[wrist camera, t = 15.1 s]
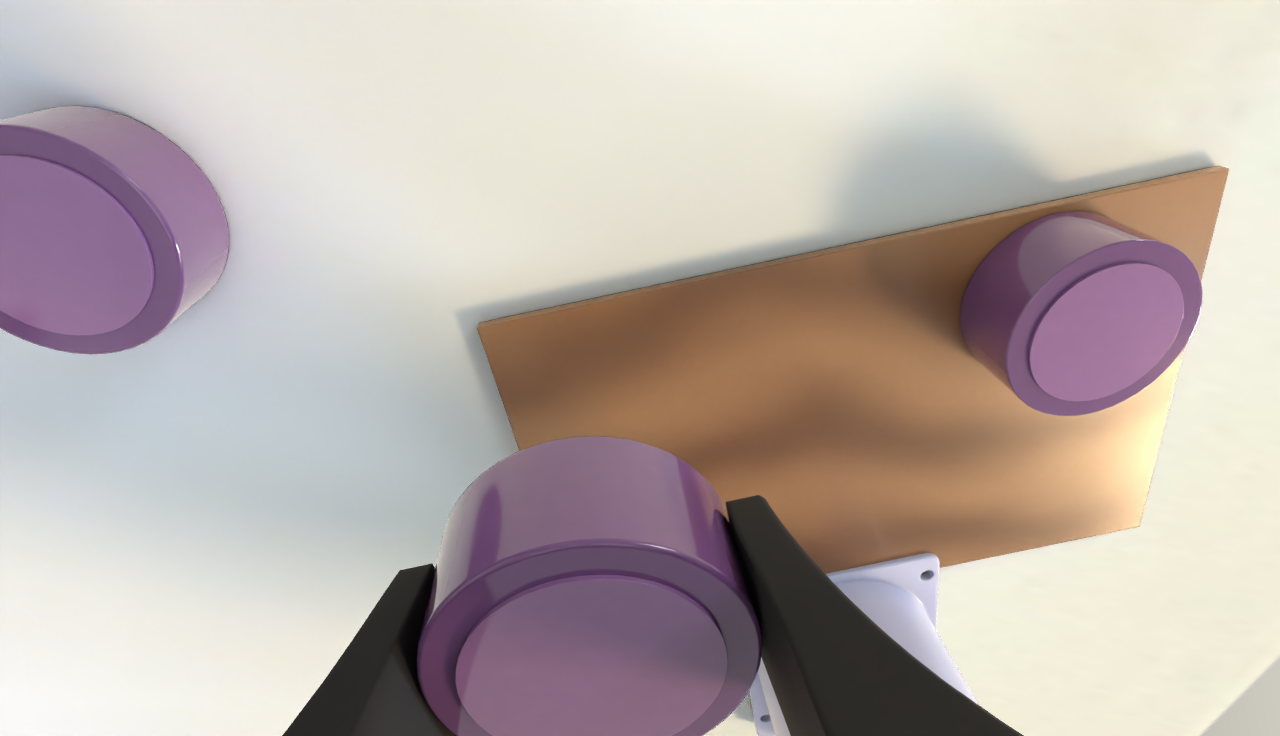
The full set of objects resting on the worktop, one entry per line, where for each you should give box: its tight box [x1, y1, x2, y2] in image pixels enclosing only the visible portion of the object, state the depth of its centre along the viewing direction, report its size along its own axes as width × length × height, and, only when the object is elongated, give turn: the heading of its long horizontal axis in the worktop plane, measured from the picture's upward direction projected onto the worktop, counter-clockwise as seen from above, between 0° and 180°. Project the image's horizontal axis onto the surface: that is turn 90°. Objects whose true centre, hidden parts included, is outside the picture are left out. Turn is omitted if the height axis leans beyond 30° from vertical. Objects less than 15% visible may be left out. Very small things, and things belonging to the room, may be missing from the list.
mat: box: [477, 166, 1229, 574], centre depth 23 cm, size 14×22×1 cm, turn 101°
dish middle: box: [416, 436, 763, 736], centre depth 12 cm, size 5×5×3 cm
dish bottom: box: [0, 106, 229, 354], centre depth 16 cm, size 5×5×3 cm
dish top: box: [960, 211, 1202, 416], centre depth 20 cm, size 5×5×3 cm
